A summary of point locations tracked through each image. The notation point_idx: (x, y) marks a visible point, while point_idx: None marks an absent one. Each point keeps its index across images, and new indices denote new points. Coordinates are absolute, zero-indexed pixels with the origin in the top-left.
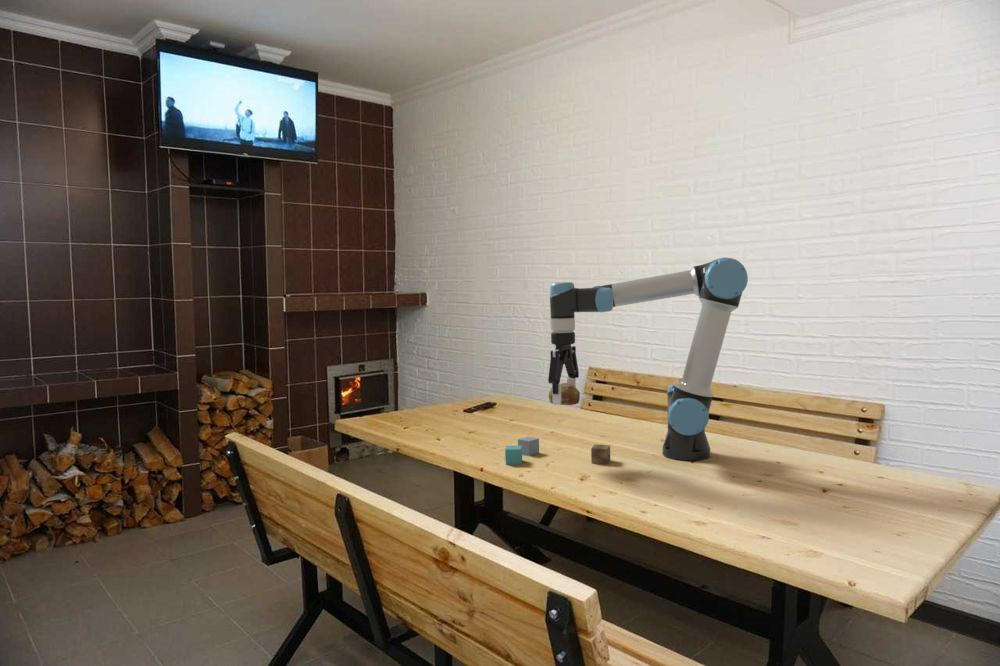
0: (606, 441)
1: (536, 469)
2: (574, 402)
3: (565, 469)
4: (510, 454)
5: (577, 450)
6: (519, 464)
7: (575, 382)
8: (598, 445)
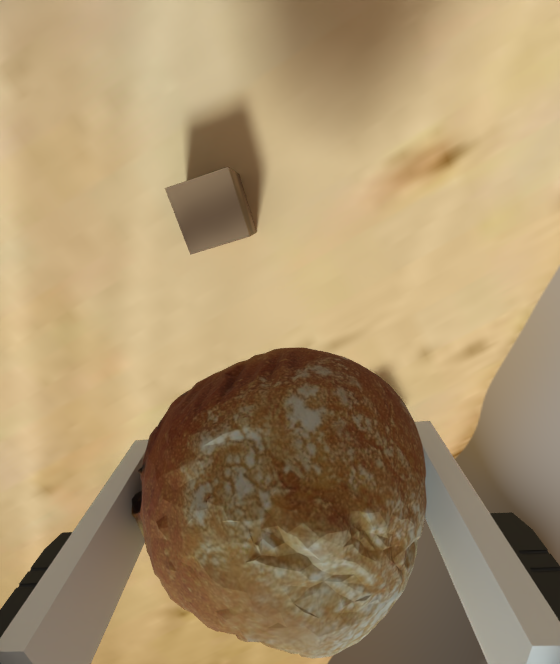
0: (5, 322)
1: (399, 345)
2: (339, 356)
3: (361, 270)
4: None
5: (154, 346)
6: None
7: (46, 580)
8: (197, 231)
